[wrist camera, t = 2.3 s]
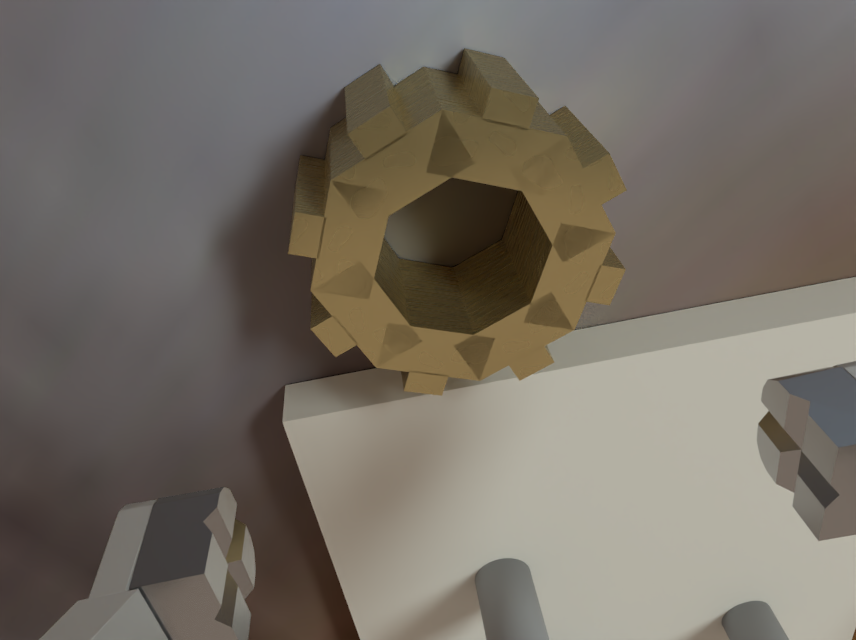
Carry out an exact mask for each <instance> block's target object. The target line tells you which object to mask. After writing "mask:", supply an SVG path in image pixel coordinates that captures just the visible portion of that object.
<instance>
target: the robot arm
mask: <svg viewBox="0 0 856 640" xmlns="http://www.w3.org/2000/svg"><path fill="white" fill-rule="evenodd" d="M761 402H762V403H763V404H764V405H765V407H766V408H767V409H768V410H769V411H768V412H767V414H766V415H765V416H764V417H763V418H762V419H761V421H760V422H759V423H758V429H757V445H758V449H759V454H760V458H761V460H762V462H763V464H764V466H765V469H766V471H767V472H768V474H769V475H770V476H771V478H772V479H773V481H774V482H775V483H776V484H777V485H779V486H781V487H783V488H785V489H787V490H789V491H791V492H793V493H794V498H793V505H792V506H793V508H794V509H795V510H796V512H797V513H798V514H799V516H800V517H801V518H802V520H803V521H804V522H805V524H806V525H807V526H808V528H809V529H810V530H811V532H812V533H813V534H814V536H815V537H816V538H817V540H818V541H822V540H828V539H834V538H840V537H845V536H851V535H856V361H853V362H848V363H844V364H839V365H834V366H833V367H827V368H822V369H817V370H812V371H807V372H802V373H798V374H793V375H788V376H783V377H778V378H773V379H768V380H767V382H766V383H765V385H764V386H763V389H762V396H761ZM236 508H237V503H236V501H235V499H234V497H233V495H232V493H231V491H230V489H228V488H225V487H221V488H215V489H210V490H204V491H198V492H192V493H187V494H181V495H175V496H169V497H163V498H159V499H157V500H151V501H145V502H139V503H133V504H127V505H125V506H124V507H123V508H122V509H121V510H120V511H119V512H118V514H117V517H116V520H115V523H114V526H113V528H112V531H111V534H110V537H109V540H108V543H107V546H106V549H105V551H104V554H103V557H102V560H101V563H100V566H99V569H98V571H97V574H96V577H95V580H94V583H93V586H92V589H91V592H90V594H89V597H88V599H84V600H79V601H77V602H76V603H75V604H74V605H73V606H72V607H71V608H70V609H69V610H68V611H67V612H66V613H65V614H64V615H63V616H62V617H61V618H60V619H59V620H58V621H57V622H56V623H55V624H54V625H53V626H52V627H51V628H50V629H49V630H48V631H47V632H46V633H45V634H44V635H43V636H42V637H41V638H40V639H39V640H248V636H249V627H250V619H251V613H250V611H249V609H248V607H247V604H246V602H245V599H246V597H247V596H248V595H249V594H250V592H251V591H252V590H253V588H254V583H255V572H256V569H255V554H254V548H253V544H252V540H251V536H250V534H249V531H248V529H247V526H246V525H245V524H243V523H241V522H240V521H238V520H236V519H235V515H236Z"/></svg>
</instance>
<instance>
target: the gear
mask: <svg viewBox="0 0 856 640" xmlns="http://www.w3.org/2000/svg"><path fill="white" fill-rule="evenodd" d="M538 100H539V98H538V97H537V96H536V94H535V93H534V92H533V91H532V90H531V89H530V87H529V86H528V85H527V84H526V83H525V81H524V80H523V79H522V78H521V77H520V76H519V74H518V73H517V72H516V71H515V70H514V69H513V67H512V66H511V65H510V64H509V63H508V61H507V60H506V59H505V58H503V57H499V56H495V55H490V54H486V53H482V52H478V51H474V50H469V49H465V48H464V51H463V55H462V59H461V63H460V67H459V71H458V74H453V73H449V72H445V71H440V70H436V69H431V68H427V67H423V68H421V69H419V70H418V71H416V72H415V73H413V74H412V75H410V76H409V77H407V78H406V79H404V80H403V81H401V82H400V83H398V84H397V85H395V86H394V85H393V84H392V82H391V81H390V79H389V78H388V76H387V74H386V73H385V71H384V70H383V68H382V66H381V65H380V64H379V65H377V66H376V67H374V68H373V69H371V70H370V71H368V72H367V73H365V74H364V75H362V76H361V77H359V78H358V79H356V80H355V81H353V82H352V83H350V84H349V85H347V86H346V87H345V103H346V118H345V119H343V120H342V121H340V122H338V123H337V124H335V125H334V126H332V127H331V128H330V134H329V139H328V145H327V151H326V157H325V160H323V159H317V158H312V157H307V156H302V155H300V160H299V167H298V173H297V180H296V186H295V192H294V202H293V212H292V221H291V231H290V241H289V250H288V254H292V255H298V256H305V257H311V258H312V268H311V292H312V304H311V330H312V331H313V332H314V334H315V335H316V336H317V337H318V338H319V339H320V340H321V341H322V343H323V344H324V345H325V346H326V347H327V348H328V349H329V351H330V352H331V353H332V354H333V355H334V356H335V357H337V356H339V355H340V354H342V353H344V352H346V351H347V350H349V349H351V348H353V347H354V346H356V345H357V346H358V347H359V348H360V350H361V351H362V352H363V353H364V354H365V355H366V357H367V358H368V359H369V360H370V361H371V362H372V364H373V365H374V366H375V367H376V368H382V369H389V370H397V371H401V375H402V382H403V389H404V391H407V392H415V393H423V394H431V395H440V396H442V394H443V391H444V388H445V385H446V382H447V379H448V377H453V378H460V379H468V380H476V381H481V380H483V379H484V378H486V377H488V376H490V375H492V374H494V373H496V372H497V371H499V370H501V369H503V368H505V367H507V366H510V368H511V369H512V371H513V372H514V374H515V375H516V376H517V378H518V379H519V381H521V380H522V379H524V378H526V377H528V376H530V375H532V374H534V373H536V372H537V371H539V370H541V369H543V368H545V367H547V366H549V365H551V364H553V363H554V360H553V358H552V356H551V353H550V351H549V349H548V346H547V345H548V344H549V343H551V342H553V341H555V340H557V339H559V338H561V337H562V336H564V335H566V334H568V333H570V332H572V331H574V330H575V327H576V325H577V323H578V320H579V318H580V316H581V313H582V311H583V309H584V306H585V304H586V302H593V303H599V304H605V305H610V303H611V301H612V299H613V297H614V294H615V292H616V290H617V288H618V285H619V283H620V281H621V279H622V277H623V274H624V272H625V270H626V269H625V268H624V266H623V265H622V264H621V262H620V261H619V259H618V258H617V256H616V255H615V254H614V252H613V251H612V249H611V248H610V245H611V243H612V240H613V238H614V236H615V231H614V229H613V227H612V225H611V223H610V221H609V219H608V217H607V215H606V213H605V211H604V209H603V207H602V204H604V203H605V202H607V201H609V200H611V199H612V198H614V197H616V196H618V195H619V194H621V193H623V192H625V191H626V188H625V186H624V184H623V181H622V179H621V177H620V175H619V173H618V171H617V169H616V166H615V164H614V162H613V160H612V158H611V156H610V154H609V152H608V151H607V150H606V149H605V148H604V147H603V146H602V145H601V144H600V143H599V142H598V141H597V139H596V138H595V137H594V136H593V135H592V134H591V133H590V132H589V131H588V130H587V129H586V128H585V127H584V125H583V124H582V123H581V122H580V121H579V120H578V119H577V118H576V117H575V116H574V115H573V114H572V113H571V111H570V110H569V109H568V108H567V107H566V106H564V107H563V108H561V109H560V110H558V111H556V112H555V113H553V114H551V115H549V114H548V113H547V112H546V110H545V109H544V108H543V107H542V106H541V105H540V103H539V102H538ZM450 178H457V179H462V180H468V181H473V182H478V183H483V184H488V185H493V186H498V187H504V188H509V189H514V190H518V193H517V196H516V199H515V202H514V205H513V208H512V211H511V214H510V217H509V220H508V223H507V226H506V229H505V232H504V235H503V238H502V240H500V241H498V242H497V243H495V244H493V245H491V246H490V247H488V248H486V249H485V250H483V251H481V252H479V253H478V254H476V255H474V256H472V257H471V258H469V259H467V260H466V261H464V262H462V263H460V264H459V265H457V266H455V267H454V268H453V267H447V266H441V265H435V264H429V263H423V262H417V261H410V260H404V259H399V258H398V257H397V255H396V254H395V252H394V251H393V250H392V248H391V247H390V246H389V244H388V243H387V242H386V240H385V239H384V234H385V230H386V225H387V221H388V217H389V216H390V215H391V214H393V213H394V212H396V211H398V210H399V209H401V208H403V207H404V206H406V205H407V204H409V203H411V202H412V201H414V200H416V199H417V198H419V197H421V196H422V195H424V194H425V193H427V192H429V191H430V190H432V189H434V188H435V187H437V186H439V185H440V184H442V183H443V182H445V181H447V180H448V179H450Z"/></svg>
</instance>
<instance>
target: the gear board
mask: <svg viewBox="0 0 856 640" xmlns="http://www.w3.org/2000/svg"><path fill="white" fill-rule="evenodd" d="M547 346H548V349H549V351H550V353H551V356H552V358H553V360H554V363H553V364H551V365H549V366H547V367H545V368H543V369H541V370H539V371H537V372H536V373H534V374H532V375H530V376H528V377H526V378H524V379H522V380H521V381H519V379H518V378H517V376H516V375H515V374H514V372H513V371H512V369H511V368H510V366H507V367H505V368H503V369H501V370H499V371H497V372H496V373H494V374H492V375H490V376H488V377H486V378H484V379H483V380H481V381H476V380H468V379H460V378H453V377H448V379H447V382H446V385H445V388H444V391H443V394H442V396H440V395H431V394H423V393H415V392H407V391H404V389H403V382H402V375H401V371H397V370H389V369H382V368H374V369H369V370H363V371H358V372H353V373H348V374H342V375H337V376H332V377H326V378H321V379H316V380H311V381H305V382H300V383H295V384H290V385H285V396H284V408H283V420H282V423H283V426H284V428H285V431H286V434H287V437H288V439H289V442H290V445H291V448H292V451H293V453H294V456H295V459H296V462H297V465H298V467H299V470H300V473H301V476H302V479H303V481H304V484H305V487H306V490H307V492H308V495H309V498H310V501H311V504H312V506H313V509H314V512H315V515H316V518H317V520H318V523H319V526H320V529H321V532H322V534H323V537H324V540H325V543H326V546H327V548H328V551H329V554H330V557H331V559H332V562H333V565H334V568H335V571H336V573H337V576H338V579H339V582H340V585H341V587H342V590H343V593H344V596H345V599H346V601H347V604H348V607H349V610H350V613H351V615H352V618H353V621H354V624H355V626H356V629H357V632H358V635H359V638H360V640H852V637H853V634H854V631H855V628H856V535H851V536H845V537H840V538H834V539H828V540H822V541H818V540H817V538H816V537H815V536H814V534H813V533H812V532H811V530H810V529H809V528H808V526H807V525H806V524H805V522H804V521H803V520H802V518H801V517H800V516H799V514H798V513H797V512H796V510H795V509H794V508H793V506H792V505H793V498H794V493H793V492H791V491H789V490H787V489H785V488H783V487H781V486H779V485H777V484H776V483H775V482H774V481H773V479H772V478H771V476H770V475H769V474H768V472H767V471H766V469H765V466H764V464H763V462H762V460H761V458H760V454H759V449H758V445H757V429H758V423H759V422H760V421H761V419H762V418H763V417H764V416H765V415H766V414H767V412H768V411H769V410H768V409H767V408H766V407H765V405H764V404H763V403H762V402H761V396H762V389H763V386H764V385H765V383H766V382H767V380H768V379H773V378H778V377H783V376H788V375H793V374H798V373H802V372H807V371H812V370H817V369H822V368H827V367H833V366H834V365H839V364H844V363H848V362H853V361H856V277H852V278H847V279H842V280H836V281H831V282H826V283H820V284H815V285H810V286H805V287H799V288H794V289H789V290H784V291H778V292H773V293H768V294H763V295H757V296H752V297H747V298H742V299H736V300H731V301H726V302H721V303H715V304H710V305H705V306H700V307H694V308H689V309H684V310H679V311H673V312H668V313H663V314H658V315H652V316H647V317H642V318H637V319H631V320H626V321H621V322H616V323H610V324H605V325H600V326H595V327H589V328H584V329H579V330H574V331H572V332H570V333H568V334H566V335H564V336H562V337H561V338H559V339H557V340H555V341H553V342H551V343H549V344H548V345H547Z"/></svg>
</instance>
